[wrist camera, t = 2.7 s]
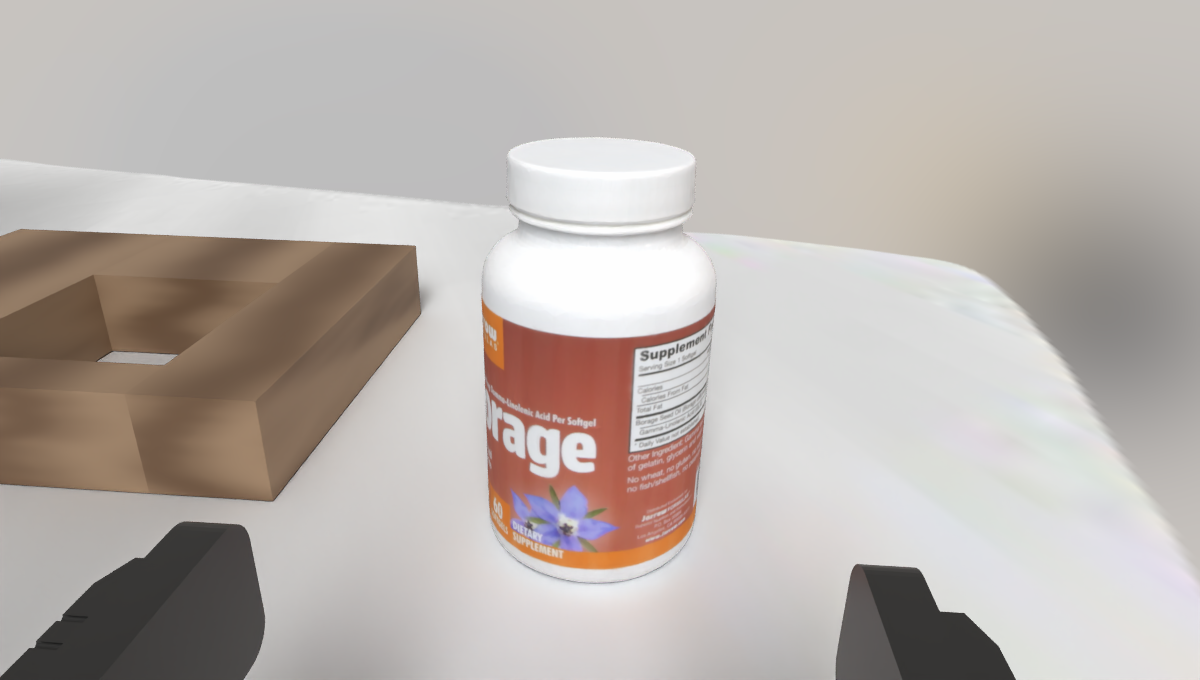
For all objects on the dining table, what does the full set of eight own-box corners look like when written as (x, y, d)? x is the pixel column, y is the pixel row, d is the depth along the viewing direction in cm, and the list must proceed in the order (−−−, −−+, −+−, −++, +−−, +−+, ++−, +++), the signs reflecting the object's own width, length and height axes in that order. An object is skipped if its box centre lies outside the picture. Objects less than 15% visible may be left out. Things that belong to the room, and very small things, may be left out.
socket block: (-321, 463, 25) (-373, 366, 24) (39, 295, 40) (20, 229, 39) (272, 501, 24) (255, 401, 23) (420, 313, 39) (415, 245, 37)
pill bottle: (449, 515, 24) (424, 146, 19) (599, 446, 28) (606, 125, 23) (583, 629, 20) (589, 191, 15) (737, 529, 23) (779, 156, 19)
